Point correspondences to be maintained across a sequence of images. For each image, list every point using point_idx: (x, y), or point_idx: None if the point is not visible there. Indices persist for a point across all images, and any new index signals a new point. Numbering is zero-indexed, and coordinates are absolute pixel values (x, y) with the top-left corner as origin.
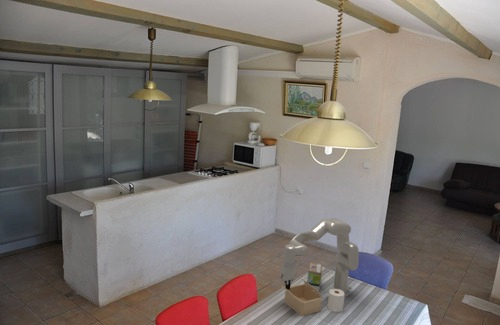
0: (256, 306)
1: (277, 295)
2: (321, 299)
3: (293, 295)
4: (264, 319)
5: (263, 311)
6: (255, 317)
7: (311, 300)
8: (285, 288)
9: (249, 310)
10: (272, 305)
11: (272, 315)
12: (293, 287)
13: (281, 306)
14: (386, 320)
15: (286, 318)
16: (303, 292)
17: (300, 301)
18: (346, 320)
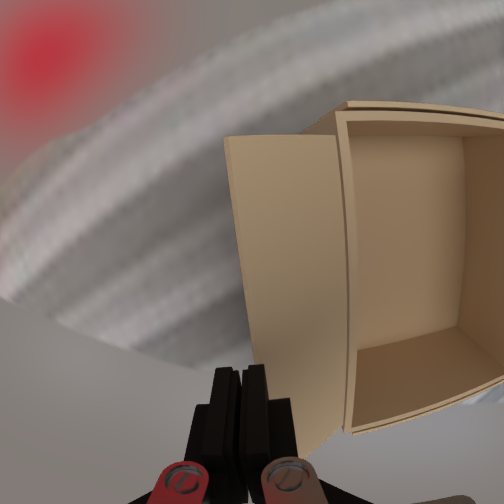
0: (52, 155)
1: (282, 33)
2: (501, 368)
3: (314, 380)
4: (65, 317)
5: (75, 230)
6: (24, 280)
7: (433, 407)
8: (319, 143)
9: (7, 197)
10: (167, 164)
11: (120, 295)
12: (440, 123)
13: None
14: None
15: (205, 353)
16: (484, 138)
17: (335, 428)
18: (481, 403)
